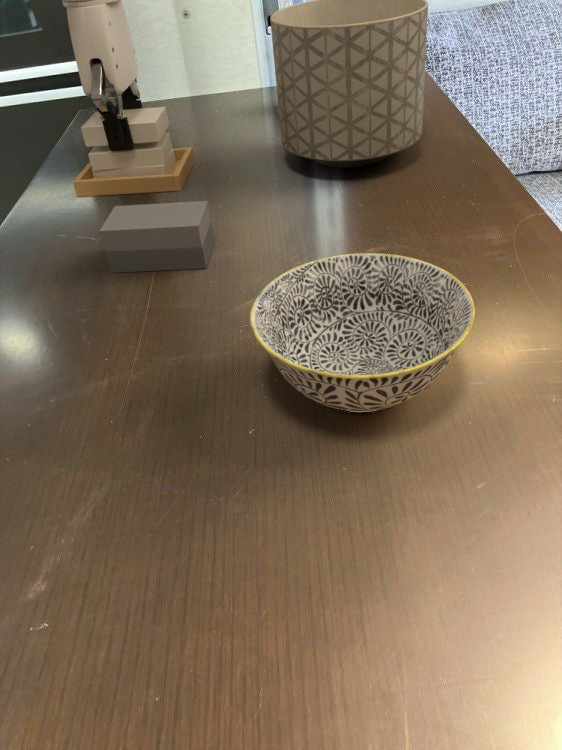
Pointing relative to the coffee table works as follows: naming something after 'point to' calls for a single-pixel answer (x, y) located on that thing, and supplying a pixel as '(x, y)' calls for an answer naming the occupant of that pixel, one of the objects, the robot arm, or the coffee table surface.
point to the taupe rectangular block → (134, 159)
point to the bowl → (362, 327)
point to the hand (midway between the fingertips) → (129, 138)
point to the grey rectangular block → (158, 237)
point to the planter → (350, 78)
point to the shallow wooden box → (137, 179)
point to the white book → (141, 123)
